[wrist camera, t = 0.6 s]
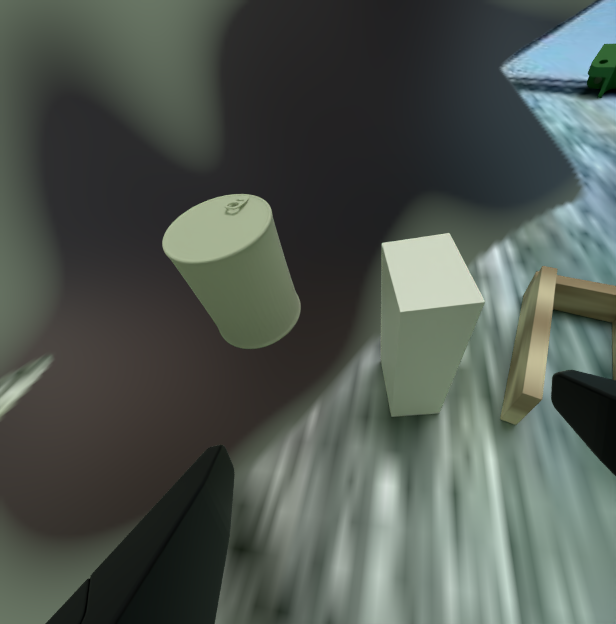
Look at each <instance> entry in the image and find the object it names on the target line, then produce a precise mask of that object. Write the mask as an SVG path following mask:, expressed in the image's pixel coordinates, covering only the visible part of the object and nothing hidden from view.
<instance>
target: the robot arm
mask: <svg viewBox="0 0 616 624" xmlns="http://www.w3.org/2000/svg"><path fill="white" fill-rule="evenodd" d="M551 400H552V403H553V405H554V407H555V409H556V410H557V411H558V412H559V413H560V414H561V416H562V417H563V418H564V419H565V420H566V421H567V423H568V424H569V425H570V426H571V427H572V428H573V430H574V431H575V432H576V433H577V434H578V435H579V437H580V438H581V439H582V440H583V441H584V442H585V444H586V445H587V446H588V447H589V448H590V449H591V451H592V452H593V453H594V454H595V455H596V456H597V457H598V458H599V459H600V461H601V462H602V463H603V464H604V465H605V466H606V467H607V468H608V469H609V470H610V471H611V472H612V473H613V474H614V475H615V476H616V380H612V379H608V378H604V377H600V376H595V375H591V374H587V373H583V372H579V371H575V370H566V371H562V372H557V373H555V374H554V375H553V377H552V392H551ZM233 488H234V468H233V464H232V462H231V460H230V457H229V455H228V453H227V450H226V448H225V446H223V445H217V446H213V447H210V448H208V449H207V450H206V451H205V452H204V453H203V454H202V455H201V456H200V457H199V458H198V459H197V460H196V462H195V463H194V464H193V465H192V466H191V467H190V468H189V469H188V470H187V471H186V472H185V473H184V475H183V476H182V477H181V478H180V479H179V480H178V481H177V482H176V483H175V484H174V485H173V486H172V488H171V489H170V490H169V491H168V492H167V493H166V494H165V495H164V496H163V498H162V499H161V500H160V501H159V502H158V503H157V504H156V505H155V506H154V507H153V508H152V509H151V510H150V511H149V513H148V514H147V515H146V516H145V517H144V518H143V519H142V520H141V521H140V522H139V523H138V525H137V526H136V527H135V528H134V529H133V530H132V531H131V532H130V533H129V534H128V535H127V537H126V538H125V539H124V540H123V541H122V542H121V543H120V544H119V545H118V546H117V547H116V549H114V551H113V552H112V553H111V554H110V555H109V556H108V557H107V558H106V559H105V560H104V561H103V563H102V564H101V565H100V566H99V567H98V568H97V569H96V570H95V571H94V572H93V573H92V575H91V577H90V579H87V580H86V581H85V582H84V583H83V584H82V585H81V586H80V588H79V589H78V590H77V591H76V592H75V593H74V594H73V595H72V596H71V597H70V598H69V599H68V600H67V602H65V604H64V605H63V606H62V607H61V608H60V609H59V610H58V611H57V612H56V613H55V614H54V615H53V616H52V617H51V619H50V620H48V622H47V623H46V624H215V618H216V612H217V607H218V601H219V595H220V589H221V584H222V578H223V572H224V567H225V561H226V555H227V549H228V543H229V537H230V527H231V514H232V501H233Z"/></svg>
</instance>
